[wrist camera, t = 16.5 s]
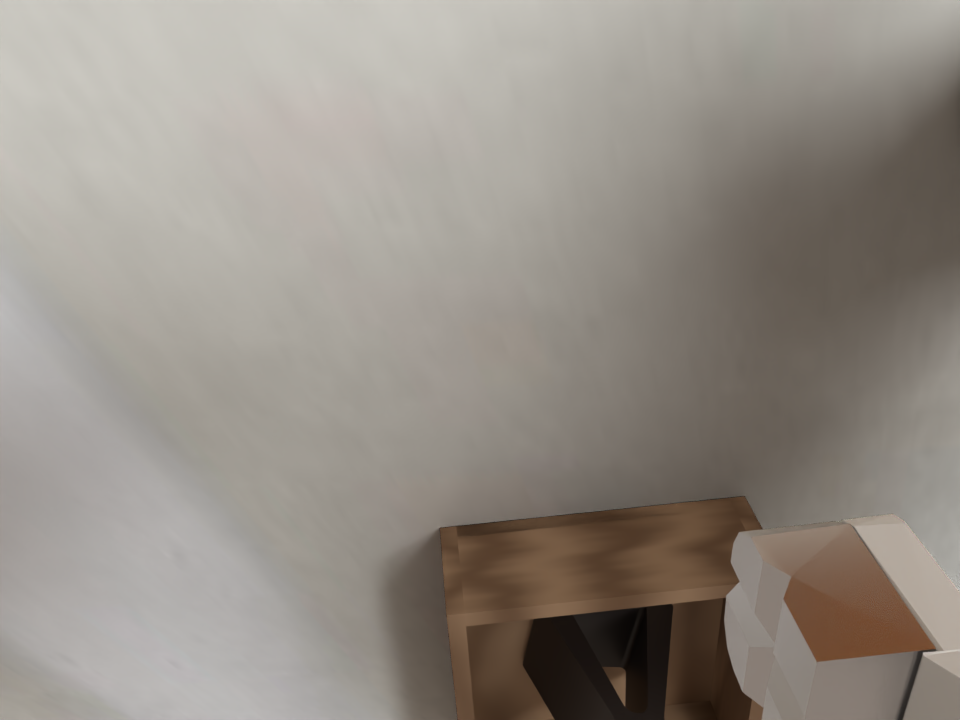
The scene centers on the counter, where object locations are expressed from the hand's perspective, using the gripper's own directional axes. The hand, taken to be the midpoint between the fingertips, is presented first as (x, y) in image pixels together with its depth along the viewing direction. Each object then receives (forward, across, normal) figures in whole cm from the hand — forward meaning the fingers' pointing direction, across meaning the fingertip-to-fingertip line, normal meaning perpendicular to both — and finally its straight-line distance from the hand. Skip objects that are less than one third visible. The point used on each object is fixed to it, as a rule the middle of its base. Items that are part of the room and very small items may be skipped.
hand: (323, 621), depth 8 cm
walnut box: (+34, -10, +39) cm, 53 cm away
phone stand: (+33, -10, +39) cm, 52 cm away
